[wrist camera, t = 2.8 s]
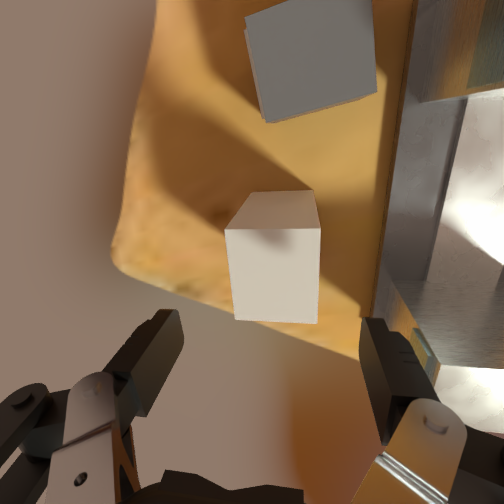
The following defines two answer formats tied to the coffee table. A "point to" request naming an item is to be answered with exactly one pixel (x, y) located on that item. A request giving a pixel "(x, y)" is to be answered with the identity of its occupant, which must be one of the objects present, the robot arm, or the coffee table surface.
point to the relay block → (311, 56)
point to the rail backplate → (449, 207)
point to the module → (275, 257)
